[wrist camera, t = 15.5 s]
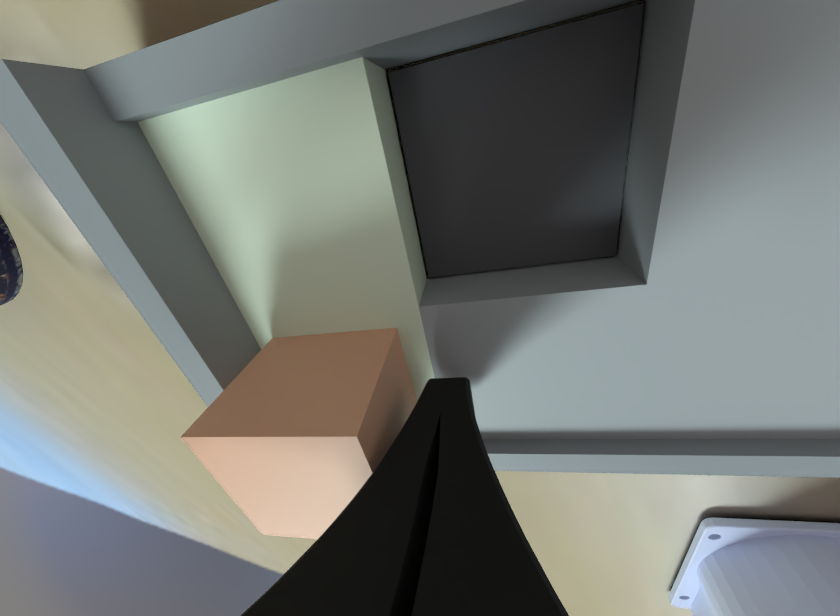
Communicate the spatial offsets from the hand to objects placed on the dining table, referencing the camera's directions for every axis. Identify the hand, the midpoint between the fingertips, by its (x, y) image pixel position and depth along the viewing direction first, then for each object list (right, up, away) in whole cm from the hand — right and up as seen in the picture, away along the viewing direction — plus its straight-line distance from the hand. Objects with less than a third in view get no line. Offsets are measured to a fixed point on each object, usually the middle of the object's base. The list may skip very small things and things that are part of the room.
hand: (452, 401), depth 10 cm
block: (-4, 0, +2) cm, 4 cm away
